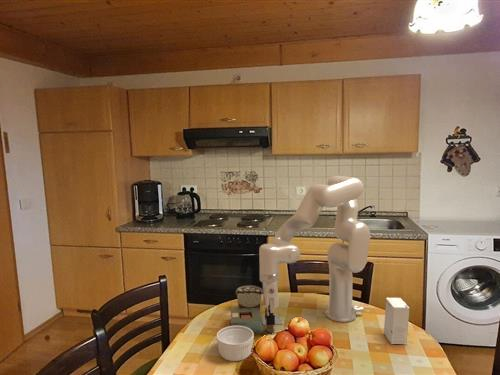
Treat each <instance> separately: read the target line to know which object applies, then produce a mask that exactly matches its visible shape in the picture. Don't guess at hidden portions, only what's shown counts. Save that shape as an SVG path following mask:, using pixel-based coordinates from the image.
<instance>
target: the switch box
mask: <svg viewBox="0 0 500 375" xmlns="http://www.w3.org/2000/svg"><path fill="white" fill-rule="evenodd" d="M241 315H250V317H251V318H241ZM261 316H262V314H261V309H260V310H259V308H243V309H239V308H231V309H230V326H244V327H247V328H249V329H251V330H252V331H253V333H254V335H259V334H260V335H261V334H263V323H262V318H261Z"/></svg>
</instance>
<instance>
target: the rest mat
mask: <svg viewBox="0 0 500 375" xmlns="http://www.w3.org/2000/svg"><path fill="white" fill-rule="evenodd" d="M261 318H262V327H266V319H265V314H264V315H262V314H261ZM280 325H283V321H282V318H281V315H280V314H275V325H274V326H280Z"/></svg>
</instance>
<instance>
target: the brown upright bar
mask: <svg viewBox="0 0 500 375" xmlns="http://www.w3.org/2000/svg"><path fill="white" fill-rule="evenodd" d="M268 307H270V306H268ZM265 310H266V315H267V308H266V309H265ZM269 310H270V309H269ZM274 327H275V325H267V324H266V326H265V332H266V335H268V334H272V333H274V334H275V328H274Z"/></svg>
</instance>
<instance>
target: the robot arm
mask: <svg viewBox="0 0 500 375" xmlns="http://www.w3.org/2000/svg"><path fill="white" fill-rule="evenodd" d="M363 193H364V184H363V181H361V180H360V178H357V177H353V176H346V175H345V176H343V175H333V176H331V177H330V178H329V179H328V181H327V183H326V184H322V183H315V184H313V185H311V186H309V188H308V189H307V191H306V193H305V195H304V197H303V199H301V200H302V201H301V202H300V204H299V206H298V207H297V209H296V211H295V213H294V214H293V215H292V216H291V217H290V218H288V219H287V221H285V222H284V223H282V225H281V226H280V227H279V228H278V230H277V231H276V233H275V235H274V237H273V239H272V241H271V243H263V244H261V245H260V246H259V248H258V249H259V250H258V251H259V252H258V254H259V261H258V262H259V281H260V282H261V283H262V291H263V294H262V296H263V297H262V299H263V303H264V306H265V308H264V315H265V319H266V324H267V325H274V326H276V325H275V315H276V313H275V309H279V292H278V290H279V288H278V282H280V264H293V263H296V262H297V261H298V260H300V257H301V250H300V248H299V247H298V246H297V245H296V244H294V243H292V242H291V240H292V239H293V237H294V236H295V235H296V234H298V232H301V231H302V230H306V229H309V228H311V227H312V226H314V225H315V223H316V221H317V219H318V218H319V216H320V214H321V212H322V211H323V209H324V207H325V208H329V209H330V208H331V209H332V208H336V213H335V214H336V215H335V222H334V230H333V232H334V236H335V237H336V238H337V239H338V240H341V241H343V242H334V243H332V244H331V245H330V246H329V247H328V249H327V252H326V253H327V257H326V258H327V262H328V269H329V280H328V281H329V288H328V290H329V291H328V292H329V295H328V296H329V297H328V298H329V299H328V300H329V302H328V304H329V305H328V308H327V309H326V310H325V316H326V318H328V320H331V321H334V322H338V323H349V322H353V321H355V319H357V318H356V317H357V315H356V313H357V312H358V313H363V312H364V307H363V306H360V307H359V305H353V282H354V281H353V278H354V277H353V273H354V274H355V273H360V272H362V271H363V269H365V267H366V264H367V261H368V254H369V248H370V242H371V231H370V228H369V226H368V225H367V224H366V223H365V222H363V221H360V220H358V216H359V204H358V200H357V199H358V198H360V197H361V195H362V194H363ZM344 242H346V243H348V244H346V243H344ZM268 306H270V307H268ZM266 308H267V315H266ZM269 309H270V310H269Z"/></svg>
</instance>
